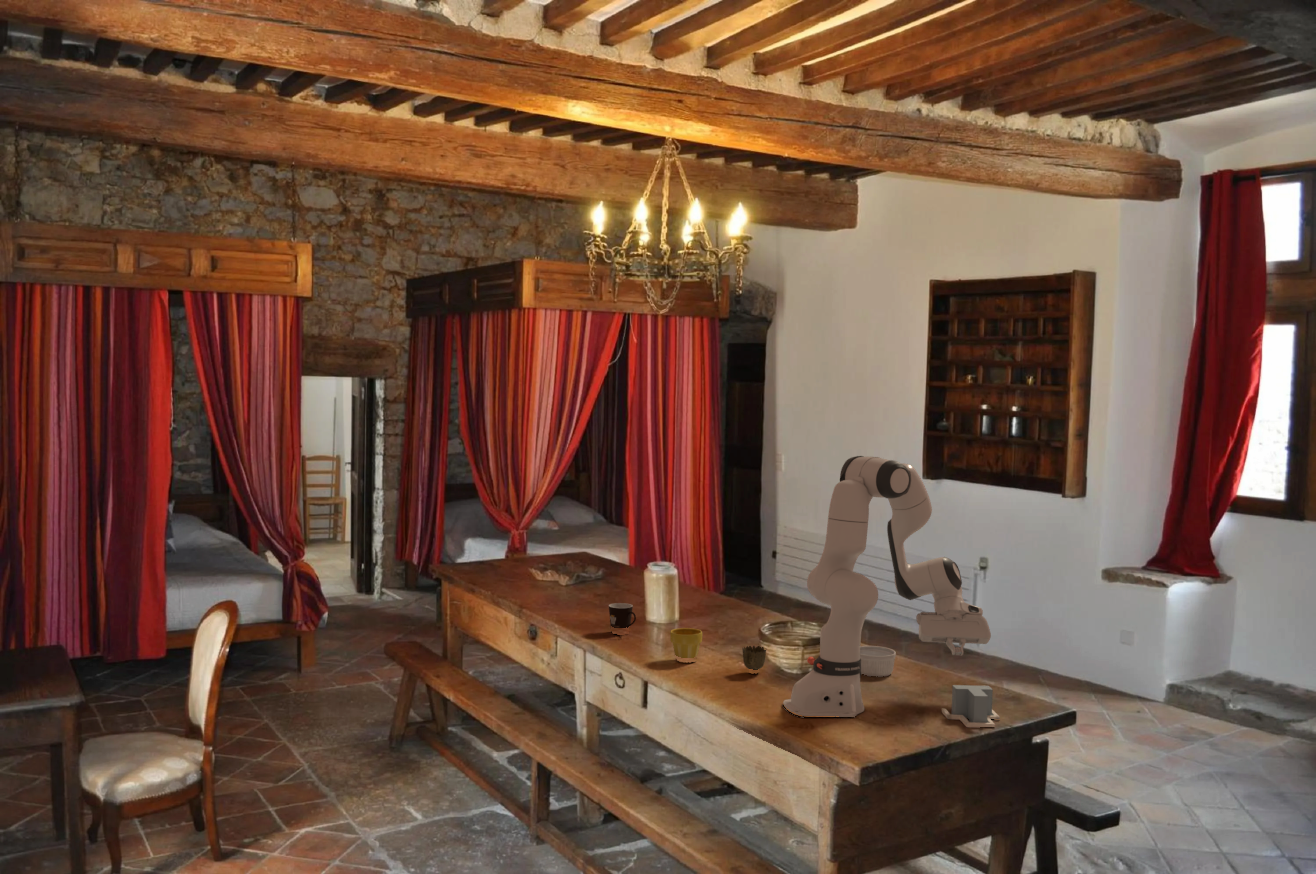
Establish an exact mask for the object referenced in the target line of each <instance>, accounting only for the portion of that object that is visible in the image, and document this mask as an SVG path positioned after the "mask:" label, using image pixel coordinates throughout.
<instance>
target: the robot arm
mask: <svg viewBox="0 0 1316 874" xmlns="http://www.w3.org/2000/svg"><path fill="white" fill-rule="evenodd" d="M873 498H885V499H888V502H889V505H890V508H891V511H892V512H891V514H892V515H891V518H890V519H889V520H888V521H887V527H886V529H887V530H886V531H887V539H888V545H889V552H890V555H891V557H890V558H891V562H892V567H893V573H894V586H895V590H896V591H897V594H898V595H899V596H901V597H902V598H904V599H906V600H908V601H913V600H916V599H919V598H921V597H923V596H927V595H932V597H933V599H934V600H933V607H934V611H930V612H929V611H922V612H921V611H920V613H917V615H915V617H916V623H917V624H918V639H919V640H921V642H924V643H946V646H947V647H948V649H949V650H950V652H951V655H952V656H963V655H964V652H965V651H964V647H965V644H976V645H981V644H982V645H987V644H988V643H989V642H990V640H991V637H992V635H991V629H990V627H989V623H988V621H987V618H985V617H984V616H983V613H984V612H983V609H982V607H979V606H976V605H973V604H970V603H967V602H965V600H964V598H963V587H962V584H963V581H962V580H963V579H962V575H961V571H960V568H959V566H958V564H957V563H956V562H955V561H954V560H952V559H950V558H948V557H946V556H941V557H936V558H933V559H928V560H925V561H921V562H918V563H913V564H911V563H908V562H907V557H906V551H905V545H904V543H905V542H906V540H907V539H908V538H910V537H911V535H913V534H914V533H916V532H917V531H920V530H921V529H922V528H923V527H924V526H925V525H926V524H927V523H928V521H930V520H929V519H931V516H932V513H933V506H932V502H931V499H930V496H929V493H928V491H927V488H926V486H925V484H924V482H923V480H922V478H921V477H920V475H919V473H918V472H917V470H916V469H915V467H914V466H912V464H908V463H905V462H904V463H901V462H899V461H897V460H894V459H893V460H892V459H890V460H889V459H885V458H882V457H878V456H863V455H856V456H851V457H850V458H848V459H847V460H845V461H844V463H843V465H842V467H841V469H840V476H839V482H838V483H836V484H835V486H834V488H833V491H832V495H831V499H830V503H829V508H828V517H827V527H826V535H825V543H824V546H823V551H822V553H821V556H820V559H819V562H818V563H817V565H816V566H815V567H814V568H813V569H812V570H811V571H810V573H809V574H808V576H807V581H806V585H807V590H808V592H809V593H810V594H811V596H813V597H814V599H816V600H817V601H818V602H820V603H822V604H824V605H827V606H829V607H830V614H829V617H828V620H827V622H826V623H825V624H823V625H822V627H821V629H820V634H819V635H820V636H819V637H820V639H819V642H820V643H819V655H818V657H817V658H814V656H808V658H807V663H808V664H809V665H811V666H812V667H813V669H812V670H811V671H809V673H807V674H805V676H803V677H802V678H801V679H798V681H796V682H795V683H794V685H793V687H792V690H791V695H790V698H789V699H784V700H783V702H782V705H783V704H784V706H785V707H786V708H787V709H789V710H790V711H791V712H794V713H796V714H798V715H802V716H835V717H836V716H839V717H854V718H856V717H855V716H858V715H859V714H861V713H863V712H864V711H865V706H864V702H863V696H862V690H861V689H862V688H861V678H862V674H861V669H862V667H861V658H860V646H861V639H862V631H863V626H864V623H865V621H866V617H867V615H868V614H869V613H870V612H871V611H873V609H875V607H876V605H877V603H878V600H879V590H878V587H877V586H876V583H874V581H872V580H871V579H869V578H868V577H866V576H865V575H863V574H861V573H859V572H855V571H854V568H855V565H856V562H857V559H858V557H859V556H860V555H861V554H863V553H864V552H865V550H866V547H867V541H868V540H867V538H868V530H869V529H868V527H869V515H870V514H869V513H870V512H869V511H870V508H869V506H870V502H871V501H872V499H873ZM954 644H958V645H959V646H960V647H959V646H955V645H954Z"/></svg>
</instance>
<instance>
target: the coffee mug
mask: <svg viewBox="0 0 1316 874" xmlns="http://www.w3.org/2000/svg"><path fill="white" fill-rule="evenodd" d="M633 607H634V606H633V604H631V603H625V602H624V603H621V602H618V603H617V602H615V603H610V604H608V613H609V622H610V627H611V626H612V627H614V628H626V627H627V628H628V627H629V626H630V627H631V626H632V625H634V623H635V622H636V621H637V620H636V619H637V616H636V614H635V612H634V611H633ZM632 615H633V621H632Z"/></svg>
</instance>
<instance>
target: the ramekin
mask: <svg viewBox="0 0 1316 874" xmlns="http://www.w3.org/2000/svg"><path fill="white" fill-rule="evenodd" d="M896 656H897V653H896V651H895V650H894V649H892V648H889V647H886V646H878V645H877V646H876V645H862V646H861V645H860V658H861V667H862V669H861V675H862V674H864V675H863V676H865V675H867V676H866V677H871V676H876V677H875V678H883V676H884V677H887V676H890V675H891V674H892V673H893V671H894V667H895V661H896ZM877 676H878V677H877Z"/></svg>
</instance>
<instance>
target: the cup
mask: <svg viewBox="0 0 1316 874" xmlns="http://www.w3.org/2000/svg"><path fill="white" fill-rule="evenodd" d="M766 654H767V649H766V650H765V648H764V646H760V645H758V646H755V645H752V646H751V645H749V646H748V645H747V646H746V647H745V646H743V647H742V659H743V664H744V666H745V668H747V670H748V669H753V670H758V669H759V670H761V669H762V668H763V667H764V665H765V661H766Z"/></svg>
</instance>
